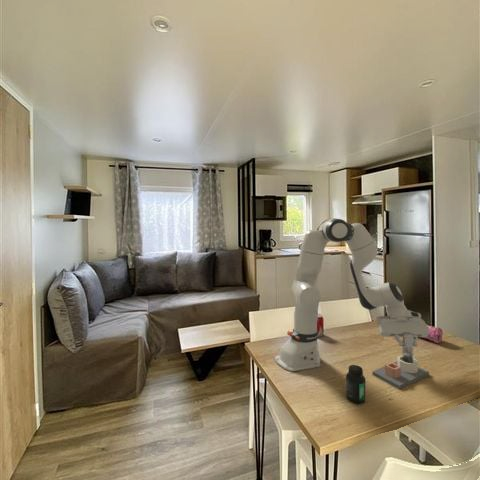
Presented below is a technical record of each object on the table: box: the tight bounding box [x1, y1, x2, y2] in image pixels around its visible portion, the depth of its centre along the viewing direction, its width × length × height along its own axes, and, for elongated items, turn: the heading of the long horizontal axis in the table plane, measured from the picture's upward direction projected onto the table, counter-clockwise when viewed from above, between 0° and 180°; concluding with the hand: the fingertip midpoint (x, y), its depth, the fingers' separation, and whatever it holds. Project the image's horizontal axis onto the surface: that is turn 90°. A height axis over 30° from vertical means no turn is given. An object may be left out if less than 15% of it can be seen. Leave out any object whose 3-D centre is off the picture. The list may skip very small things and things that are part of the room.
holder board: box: [371, 355, 430, 390], centre depth 117 cm, size 21×12×6 cm, turn 117°
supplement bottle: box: [345, 364, 367, 405], centre depth 101 cm, size 7×7×12 cm
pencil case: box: [421, 325, 443, 344], centre depth 155 cm, size 21×9×9 cm, turn 31°
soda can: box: [317, 313, 325, 338], centre depth 160 cm, size 7×7×12 cm
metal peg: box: [402, 332, 414, 363], centre depth 119 cm, size 4×4×12 cm
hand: (408, 345), depth 118 cm, fingers closed on metal peg, 4 cm apart
